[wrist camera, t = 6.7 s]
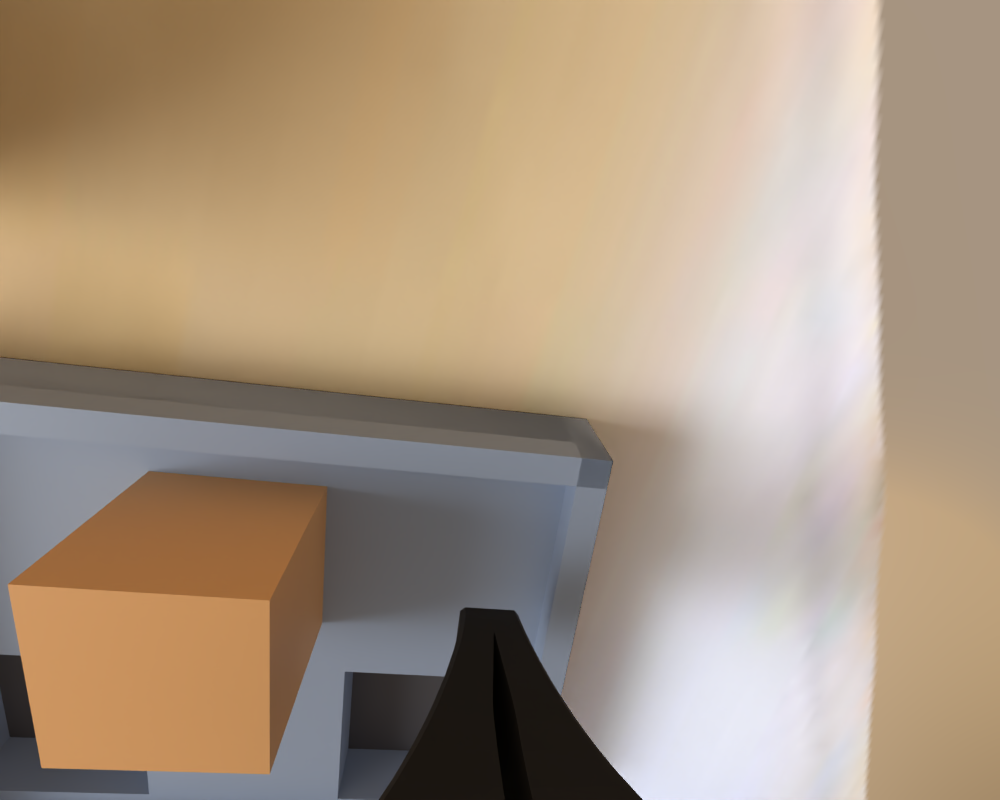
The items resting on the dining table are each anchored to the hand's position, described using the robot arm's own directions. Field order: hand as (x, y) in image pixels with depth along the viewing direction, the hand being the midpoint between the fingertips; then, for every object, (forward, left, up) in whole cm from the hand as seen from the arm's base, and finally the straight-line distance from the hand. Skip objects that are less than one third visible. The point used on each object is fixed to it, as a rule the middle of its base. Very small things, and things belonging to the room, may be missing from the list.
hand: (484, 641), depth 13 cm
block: (+7, 0, -3) cm, 7 cm away
